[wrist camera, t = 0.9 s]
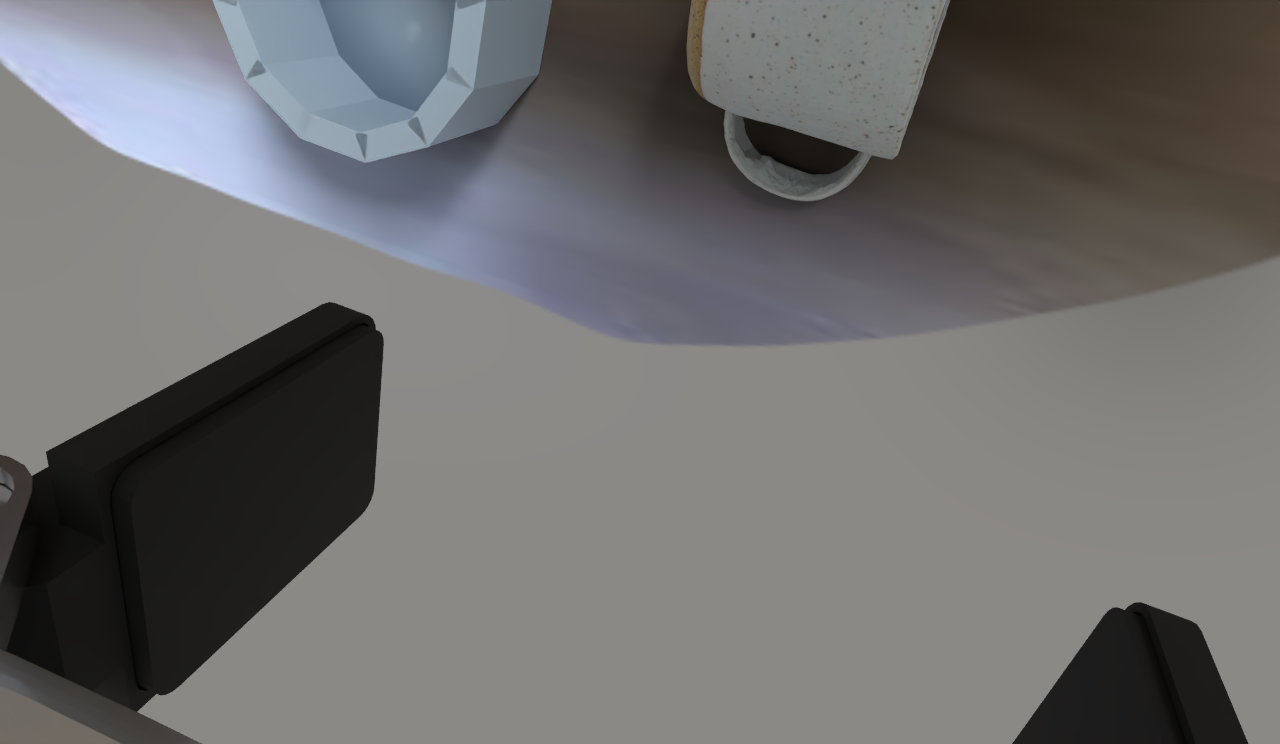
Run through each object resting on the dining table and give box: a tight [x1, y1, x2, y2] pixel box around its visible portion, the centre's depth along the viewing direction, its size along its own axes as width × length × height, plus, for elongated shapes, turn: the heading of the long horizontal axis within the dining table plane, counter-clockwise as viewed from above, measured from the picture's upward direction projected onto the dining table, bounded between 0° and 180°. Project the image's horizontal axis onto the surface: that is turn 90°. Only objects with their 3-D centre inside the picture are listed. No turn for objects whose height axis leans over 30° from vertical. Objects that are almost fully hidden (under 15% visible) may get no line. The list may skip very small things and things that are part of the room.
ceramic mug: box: [687, 0, 950, 201], centre depth 29 cm, size 11×8×8 cm
